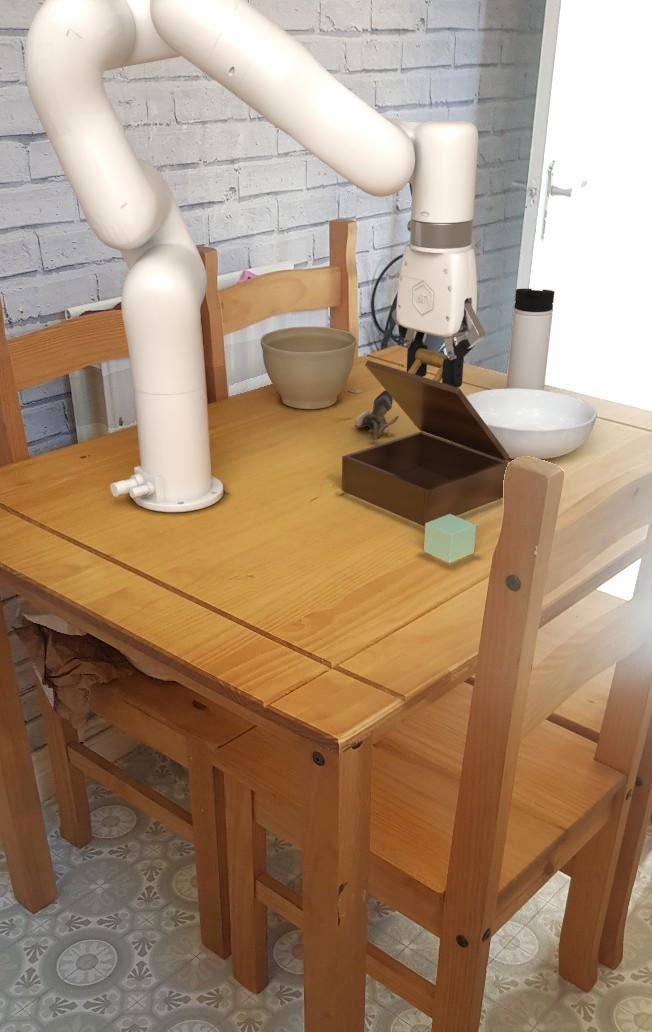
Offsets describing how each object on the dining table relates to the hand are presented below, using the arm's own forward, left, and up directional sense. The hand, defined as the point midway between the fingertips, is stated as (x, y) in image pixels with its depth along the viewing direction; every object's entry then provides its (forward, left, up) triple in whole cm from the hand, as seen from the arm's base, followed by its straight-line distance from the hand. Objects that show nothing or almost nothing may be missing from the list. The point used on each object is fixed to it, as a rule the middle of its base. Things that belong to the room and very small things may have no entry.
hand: (433, 381), depth 135 cm
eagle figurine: (+12, +23, -16) cm, 31 cm away
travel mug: (+40, +16, -16) cm, 46 cm away
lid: (+1, 0, -4) cm, 5 cm away
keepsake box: (-1, 0, -16) cm, 16 cm away
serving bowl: (+24, +3, -16) cm, 29 cm away
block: (-12, -15, -16) cm, 25 cm away
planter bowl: (+15, +43, -16) cm, 48 cm away
